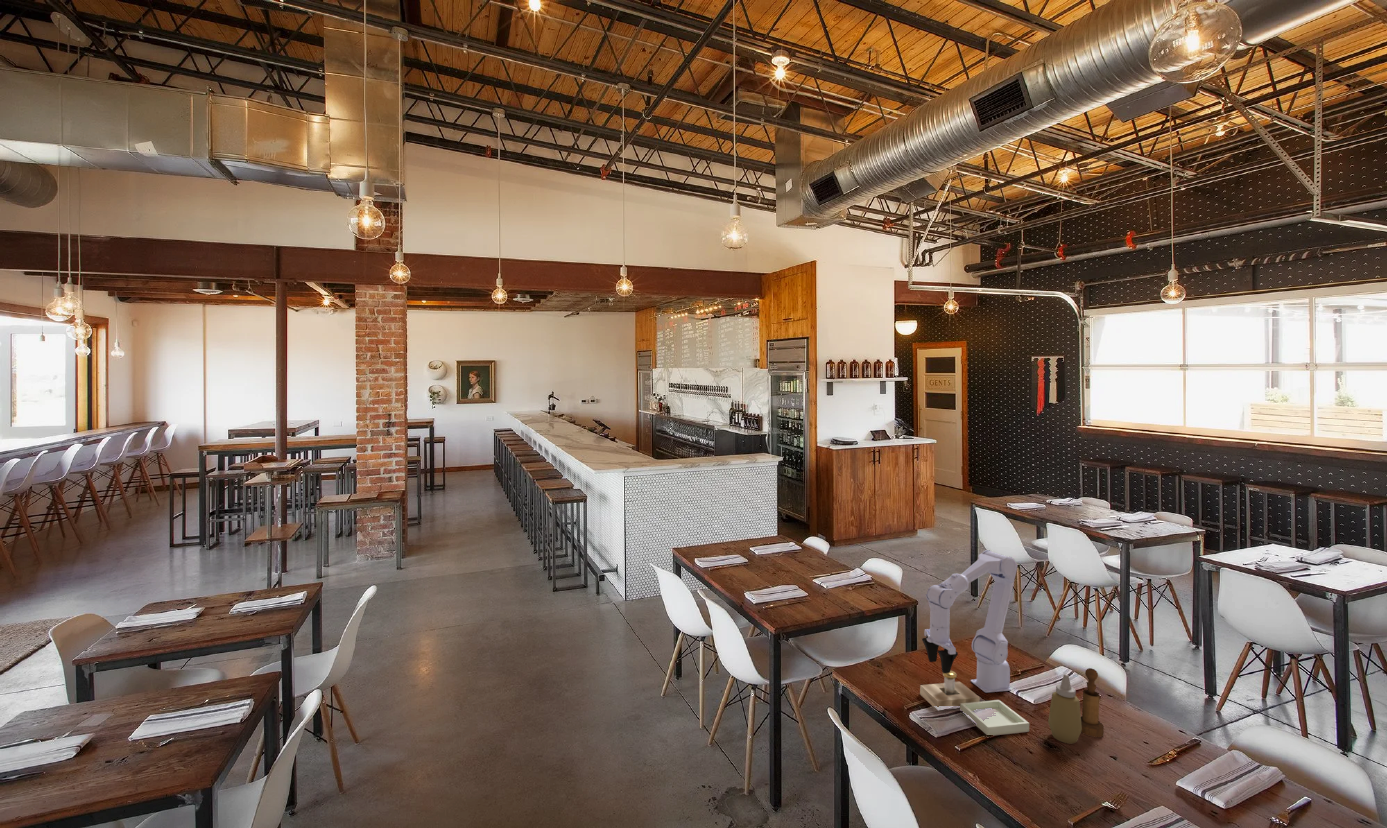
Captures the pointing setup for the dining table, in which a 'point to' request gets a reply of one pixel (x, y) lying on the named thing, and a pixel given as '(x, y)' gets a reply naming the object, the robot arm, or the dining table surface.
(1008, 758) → the dining table surface
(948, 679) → the pin
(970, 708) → the tray
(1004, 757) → the dining table surface
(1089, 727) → the wooden pepper mill
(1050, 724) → the squeeze bottle
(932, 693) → the hitch block
